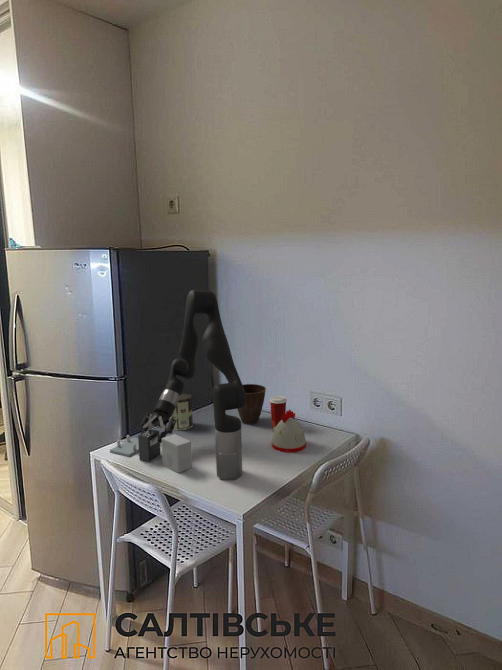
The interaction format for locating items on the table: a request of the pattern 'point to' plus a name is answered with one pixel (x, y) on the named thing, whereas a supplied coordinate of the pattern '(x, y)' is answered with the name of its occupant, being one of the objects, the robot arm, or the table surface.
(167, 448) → the skincare box
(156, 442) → the block
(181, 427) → the coffee can
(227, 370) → the robot arm
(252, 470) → the table surface
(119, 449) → the grey peg board
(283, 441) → the cream and red dome
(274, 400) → the paper cup
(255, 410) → the plant pot
